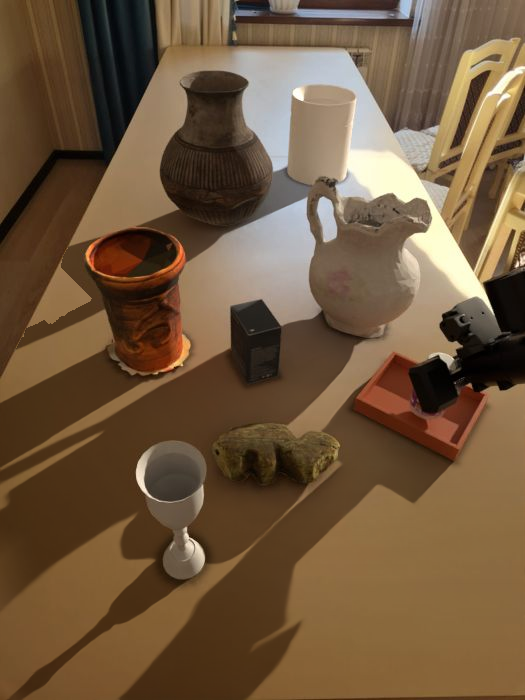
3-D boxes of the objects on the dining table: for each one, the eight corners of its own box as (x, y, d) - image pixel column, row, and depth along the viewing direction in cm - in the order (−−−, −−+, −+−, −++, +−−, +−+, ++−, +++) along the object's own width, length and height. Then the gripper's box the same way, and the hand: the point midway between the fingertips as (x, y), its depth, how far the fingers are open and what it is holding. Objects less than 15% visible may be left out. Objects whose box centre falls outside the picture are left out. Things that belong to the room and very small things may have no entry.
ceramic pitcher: (278, 333, 98) (283, 213, 80) (309, 270, 110) (319, 154, 92) (397, 364, 93) (431, 243, 75) (416, 294, 105) (448, 177, 87)
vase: (252, 188, 138) (254, 59, 118) (285, 236, 121) (294, 95, 100) (156, 200, 132) (141, 66, 111) (177, 253, 114) (163, 105, 94)
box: (279, 376, 88) (282, 326, 81) (247, 385, 86) (247, 335, 79) (260, 346, 93) (262, 297, 86) (229, 354, 92) (229, 305, 84)
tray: (484, 405, 85) (490, 394, 83) (454, 461, 76) (459, 449, 75) (390, 362, 91) (393, 350, 90) (353, 409, 83) (355, 397, 81)
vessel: (125, 394, 84) (103, 290, 71) (94, 342, 93) (69, 240, 79) (207, 362, 90) (201, 260, 77) (171, 315, 99) (160, 216, 85)
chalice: (148, 542, 66) (128, 452, 54) (201, 522, 68) (193, 432, 56) (164, 598, 61) (146, 512, 49) (221, 575, 63) (217, 488, 51)
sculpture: (209, 464, 68) (214, 413, 76) (209, 492, 71) (214, 441, 79) (348, 467, 68) (338, 416, 77) (343, 495, 71) (334, 443, 80)
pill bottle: (410, 420, 80) (424, 373, 73) (406, 394, 84) (419, 347, 77) (447, 422, 79) (465, 376, 73) (441, 396, 83) (457, 350, 77)
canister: (275, 174, 144) (279, 95, 131) (306, 155, 154) (313, 80, 141) (327, 191, 138) (337, 110, 124) (356, 170, 148) (368, 93, 134)
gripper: (545, 274, 67) (456, 299, 82) (437, 320, 60) (360, 340, 74) (576, 357, 68) (481, 368, 82) (472, 414, 60) (388, 415, 74)
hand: (430, 371), depth 78 cm, fingers closed on pill bottle, 5 cm apart
